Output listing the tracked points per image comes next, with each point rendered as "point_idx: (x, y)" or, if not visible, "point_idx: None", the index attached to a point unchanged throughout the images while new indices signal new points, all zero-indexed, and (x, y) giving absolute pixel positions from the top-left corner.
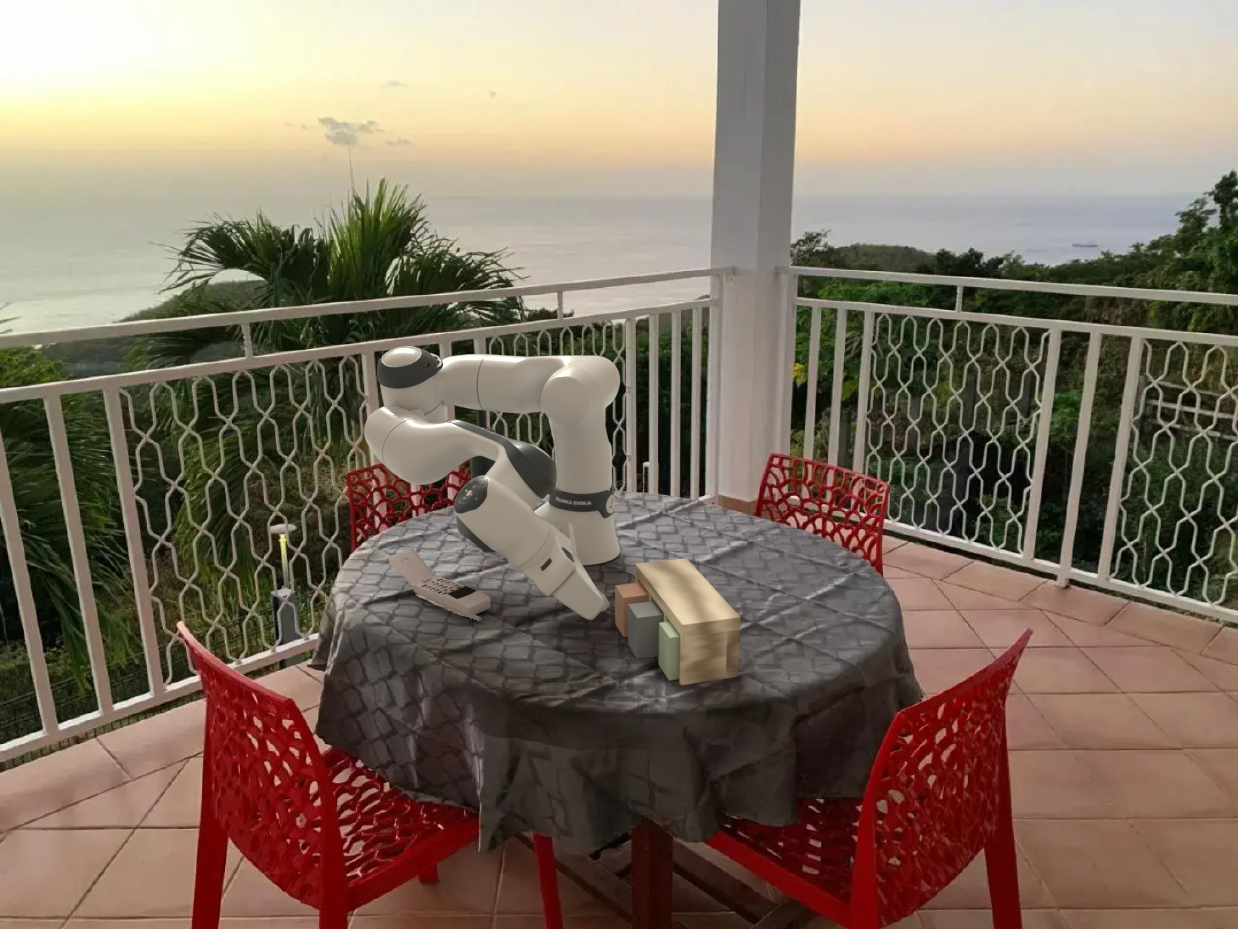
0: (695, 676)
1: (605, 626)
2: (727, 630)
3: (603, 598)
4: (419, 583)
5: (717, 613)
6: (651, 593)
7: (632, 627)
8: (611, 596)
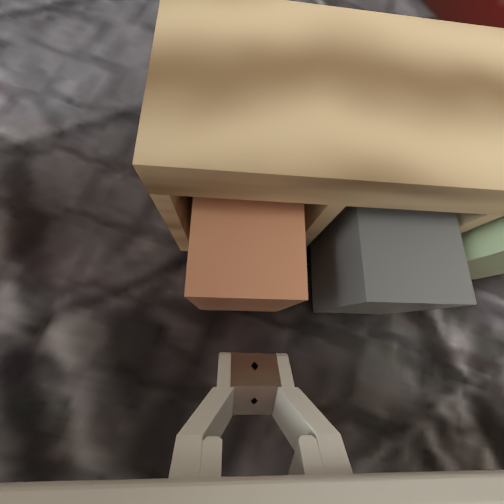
0: None
1: (196, 336)
2: None
3: (293, 384)
4: None
5: None
6: (362, 201)
7: (383, 308)
8: (27, 267)
